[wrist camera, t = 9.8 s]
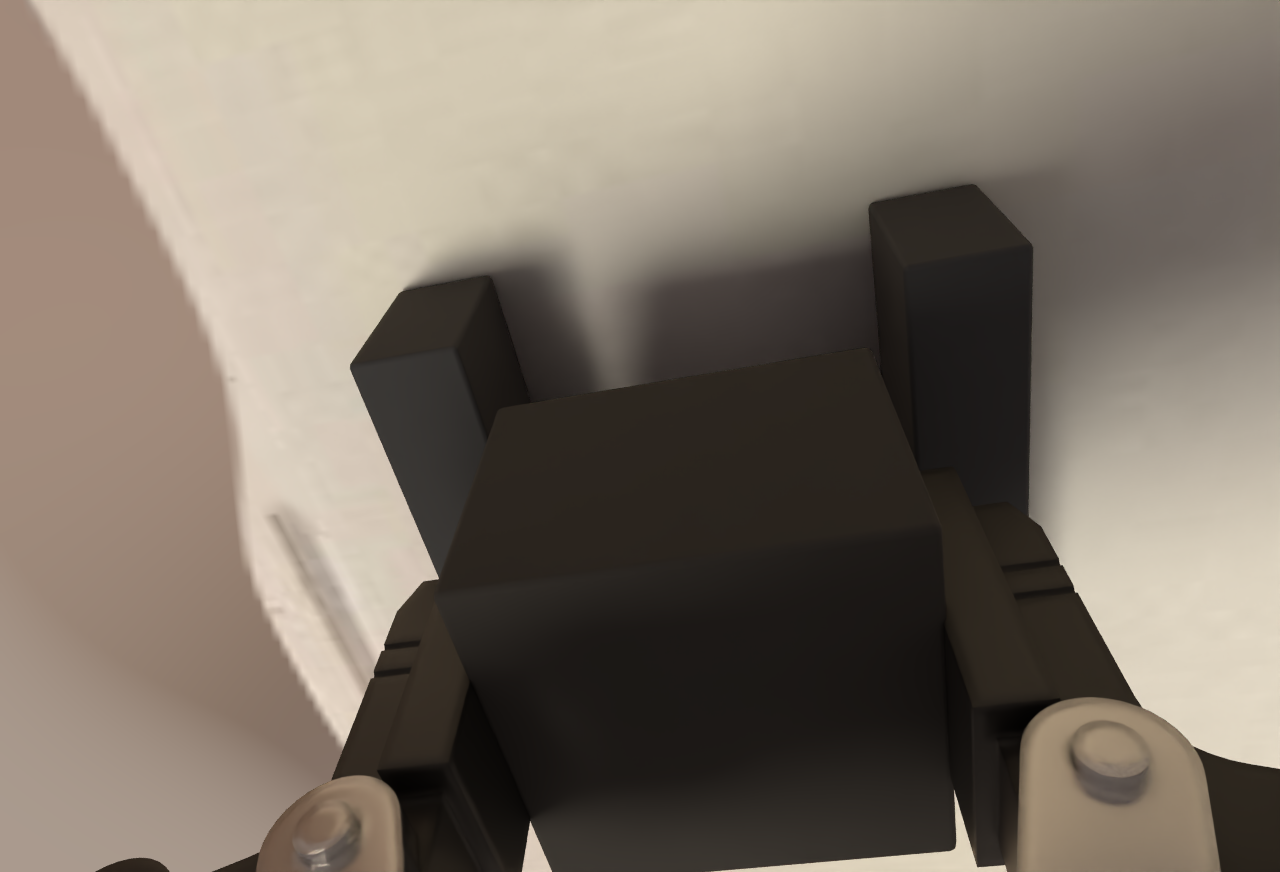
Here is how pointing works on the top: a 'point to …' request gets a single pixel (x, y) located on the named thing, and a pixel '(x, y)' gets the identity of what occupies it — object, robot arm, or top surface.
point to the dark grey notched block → (908, 339)
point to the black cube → (710, 621)
